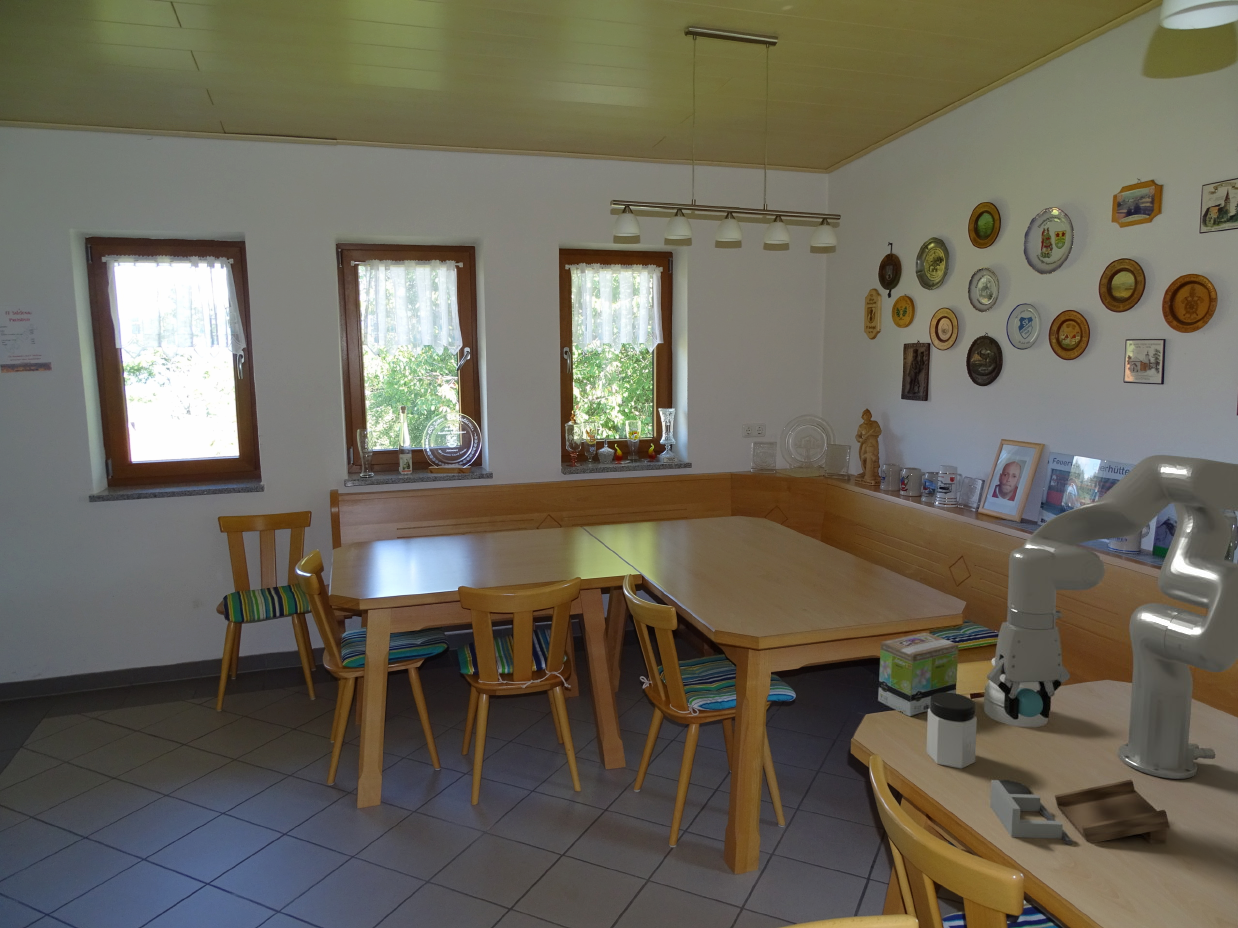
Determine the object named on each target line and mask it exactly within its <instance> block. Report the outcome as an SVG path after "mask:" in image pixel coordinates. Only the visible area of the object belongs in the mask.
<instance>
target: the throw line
mask: <svg viewBox="0 0 1238 928" xmlns="http://www.w3.org/2000/svg"><path fill="white" fill-rule="evenodd" d="M1039 812H1040V813H1041V815H1042V816H1043V817H1044V818H1045V821H1057V820H1056V819H1055V818H1054V817H1053V815H1052V814H1051V813H1050V811H1048V809H1047V808H1046V807H1045V806H1044V804H1043V803H1042V802H1041V801H1040V811H1039ZM1061 840H1062V841H1063V842H1064V843H1065V845H1072V843H1073V842H1072V841H1073V840H1072V838H1071V837H1070V836H1069V834H1068V833H1067V832H1066V831H1065V830H1064V829H1063V828H1062V839H1061Z"/></svg>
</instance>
